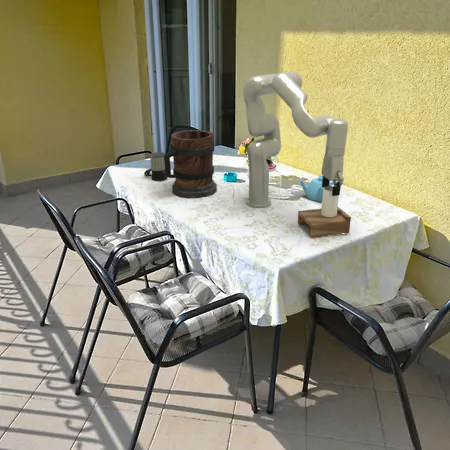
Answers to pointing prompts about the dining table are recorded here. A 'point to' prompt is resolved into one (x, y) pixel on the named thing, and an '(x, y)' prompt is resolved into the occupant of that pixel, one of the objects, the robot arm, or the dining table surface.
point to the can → (329, 203)
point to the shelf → (324, 222)
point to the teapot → (315, 188)
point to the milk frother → (157, 167)
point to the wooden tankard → (191, 164)
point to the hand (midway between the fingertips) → (330, 191)
